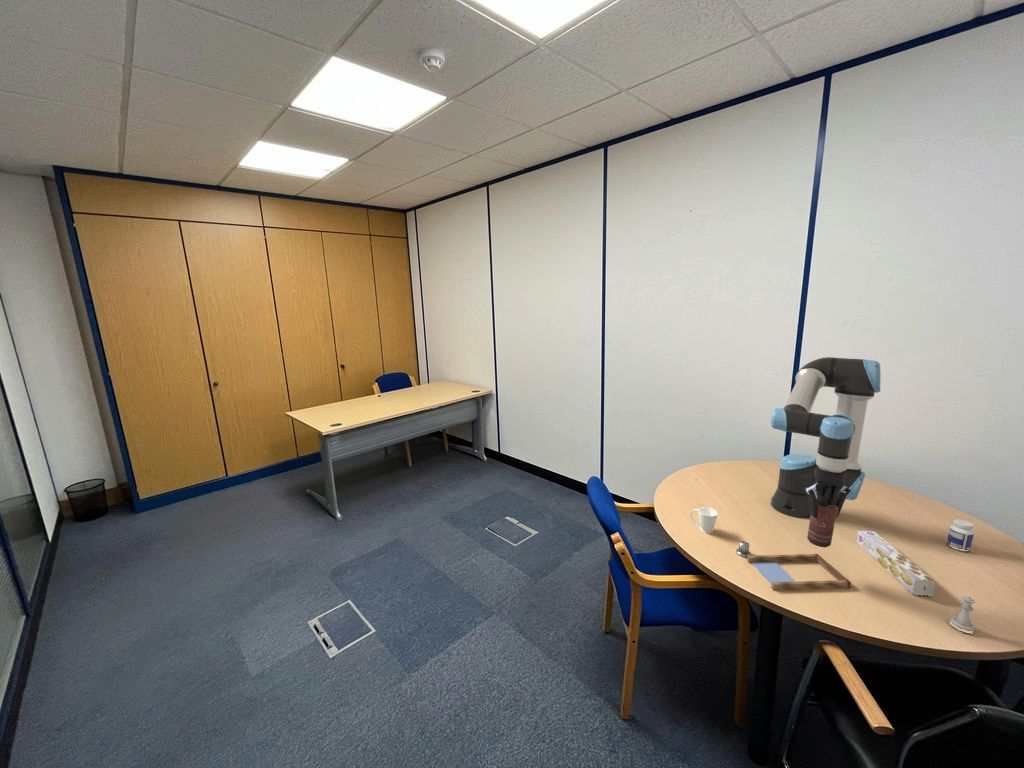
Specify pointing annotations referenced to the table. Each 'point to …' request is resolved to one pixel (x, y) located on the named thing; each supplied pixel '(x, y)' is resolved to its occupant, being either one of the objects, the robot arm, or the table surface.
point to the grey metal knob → (743, 549)
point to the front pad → (772, 572)
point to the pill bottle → (961, 534)
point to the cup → (705, 519)
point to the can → (822, 525)
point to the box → (896, 564)
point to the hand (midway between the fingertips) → (820, 535)
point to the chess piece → (964, 615)
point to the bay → (838, 583)
